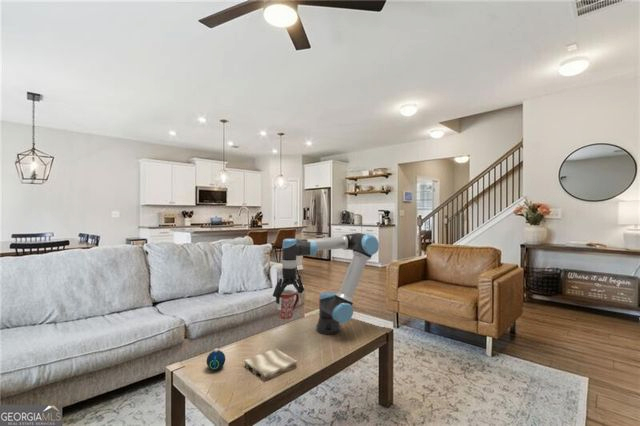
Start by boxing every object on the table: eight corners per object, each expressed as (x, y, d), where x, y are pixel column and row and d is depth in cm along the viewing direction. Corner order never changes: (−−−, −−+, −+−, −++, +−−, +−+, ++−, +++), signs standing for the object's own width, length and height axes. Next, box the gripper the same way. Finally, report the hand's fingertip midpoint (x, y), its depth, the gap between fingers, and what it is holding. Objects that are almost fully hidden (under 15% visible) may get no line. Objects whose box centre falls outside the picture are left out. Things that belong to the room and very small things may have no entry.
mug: (283, 321, 159) (283, 295, 159) (274, 316, 166) (274, 291, 166) (302, 316, 167) (303, 291, 167) (293, 311, 174) (293, 287, 174)
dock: (275, 354, 160) (275, 348, 159) (297, 367, 146) (297, 361, 146) (244, 366, 147) (244, 360, 147) (265, 381, 134) (265, 375, 134)
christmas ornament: (202, 372, 142) (202, 350, 142) (213, 363, 150) (213, 343, 150) (218, 374, 140) (218, 353, 139) (228, 365, 148) (228, 345, 148)
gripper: (302, 263, 177) (302, 300, 177) (266, 269, 160) (265, 310, 161) (310, 265, 171) (310, 303, 172) (274, 271, 155) (274, 313, 155)
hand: (289, 306), depth 166 cm, fingers closed on mug, 12 cm apart
